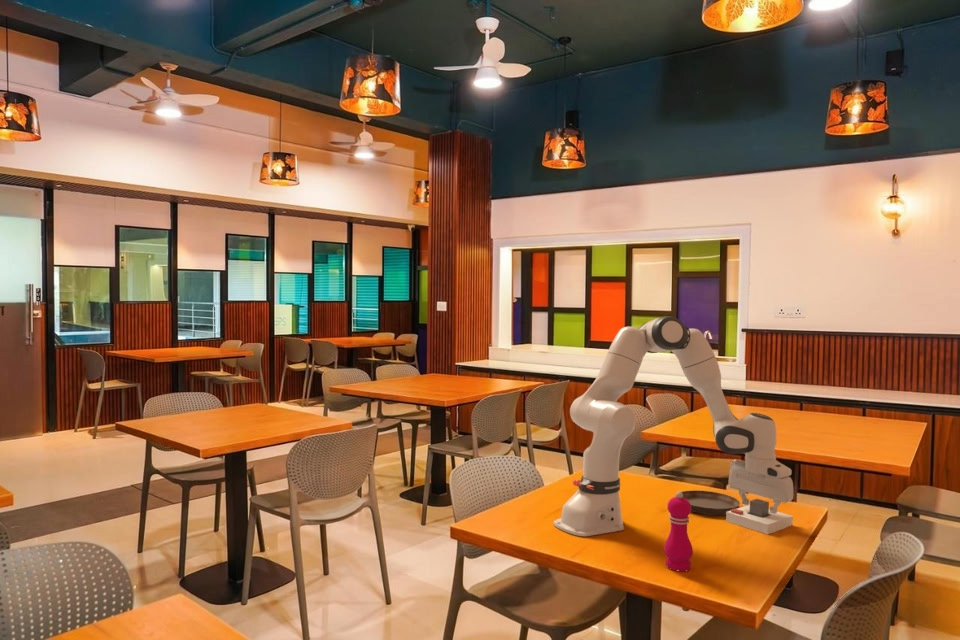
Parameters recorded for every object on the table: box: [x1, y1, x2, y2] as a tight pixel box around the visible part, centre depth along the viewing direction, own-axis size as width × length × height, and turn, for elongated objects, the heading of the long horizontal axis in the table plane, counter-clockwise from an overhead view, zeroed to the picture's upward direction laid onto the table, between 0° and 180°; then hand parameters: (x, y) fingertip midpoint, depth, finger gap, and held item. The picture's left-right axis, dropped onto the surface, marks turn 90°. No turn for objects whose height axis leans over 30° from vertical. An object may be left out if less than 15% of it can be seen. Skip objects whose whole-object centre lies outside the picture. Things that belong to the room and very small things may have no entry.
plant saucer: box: [674, 489, 741, 516], centre depth 220 cm, size 21×21×3 cm
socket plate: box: [725, 504, 794, 535], centre depth 204 cm, size 14×14×4 cm
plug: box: [749, 498, 770, 518], centre depth 204 cm, size 4×4×7 cm
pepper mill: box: [663, 491, 694, 572], centre depth 170 cm, size 7×7×20 cm
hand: (759, 508), depth 204 cm, fingers open, 8 cm apart
